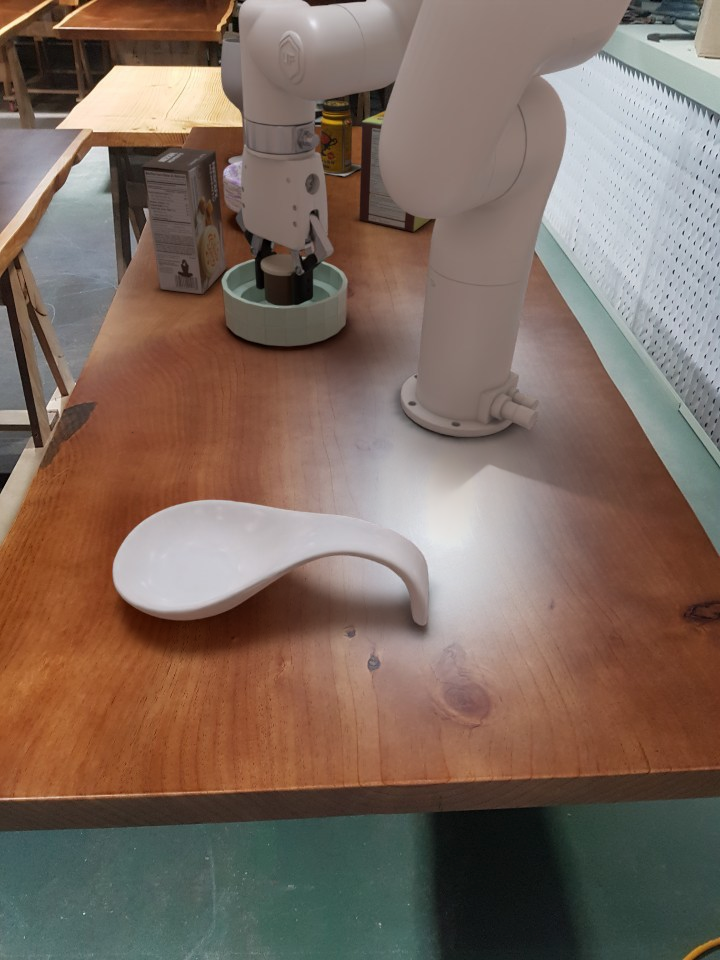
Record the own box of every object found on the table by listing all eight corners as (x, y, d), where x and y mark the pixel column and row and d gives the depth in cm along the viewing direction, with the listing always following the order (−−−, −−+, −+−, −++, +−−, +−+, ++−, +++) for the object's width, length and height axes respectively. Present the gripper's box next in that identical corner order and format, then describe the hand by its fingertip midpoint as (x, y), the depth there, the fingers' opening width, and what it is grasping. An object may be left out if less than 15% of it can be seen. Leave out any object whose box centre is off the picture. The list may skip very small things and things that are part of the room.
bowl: (370, 320, 91) (372, 280, 88) (286, 364, 82) (285, 320, 79) (286, 285, 99) (284, 246, 95) (200, 321, 89) (195, 280, 86)
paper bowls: (331, 232, 115) (332, 181, 110) (239, 242, 110) (235, 189, 105) (302, 202, 126) (301, 154, 121) (216, 210, 121) (212, 160, 116)
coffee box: (185, 264, 103) (170, 145, 93) (227, 269, 102) (217, 149, 92) (158, 290, 96) (140, 164, 86) (203, 295, 95) (190, 169, 85)
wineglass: (272, 160, 145) (268, 40, 131) (249, 169, 140) (242, 45, 126) (243, 154, 148) (236, 35, 134) (219, 162, 143) (209, 40, 129)
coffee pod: (315, 297, 89) (315, 262, 86) (284, 311, 86) (283, 275, 83) (284, 284, 91) (283, 250, 89) (253, 297, 88) (251, 262, 85)
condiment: (312, 171, 140) (311, 103, 133) (333, 161, 146) (333, 96, 139) (344, 177, 138) (346, 109, 130) (364, 167, 144) (367, 101, 136)
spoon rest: (97, 640, 51) (76, 570, 47) (147, 528, 60) (133, 461, 56) (427, 666, 50) (438, 599, 46) (427, 549, 59) (436, 483, 55)
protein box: (449, 206, 127) (460, 110, 117) (413, 233, 116) (422, 129, 106) (396, 195, 130) (402, 101, 121) (357, 220, 120) (360, 119, 110)
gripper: (363, 146, 75) (356, 306, 86) (251, 115, 83) (258, 265, 95) (314, 160, 70) (314, 326, 82) (200, 125, 78) (215, 281, 90)
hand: (284, 292), depth 88 cm, fingers closed on coffee pod, 5 cm apart
